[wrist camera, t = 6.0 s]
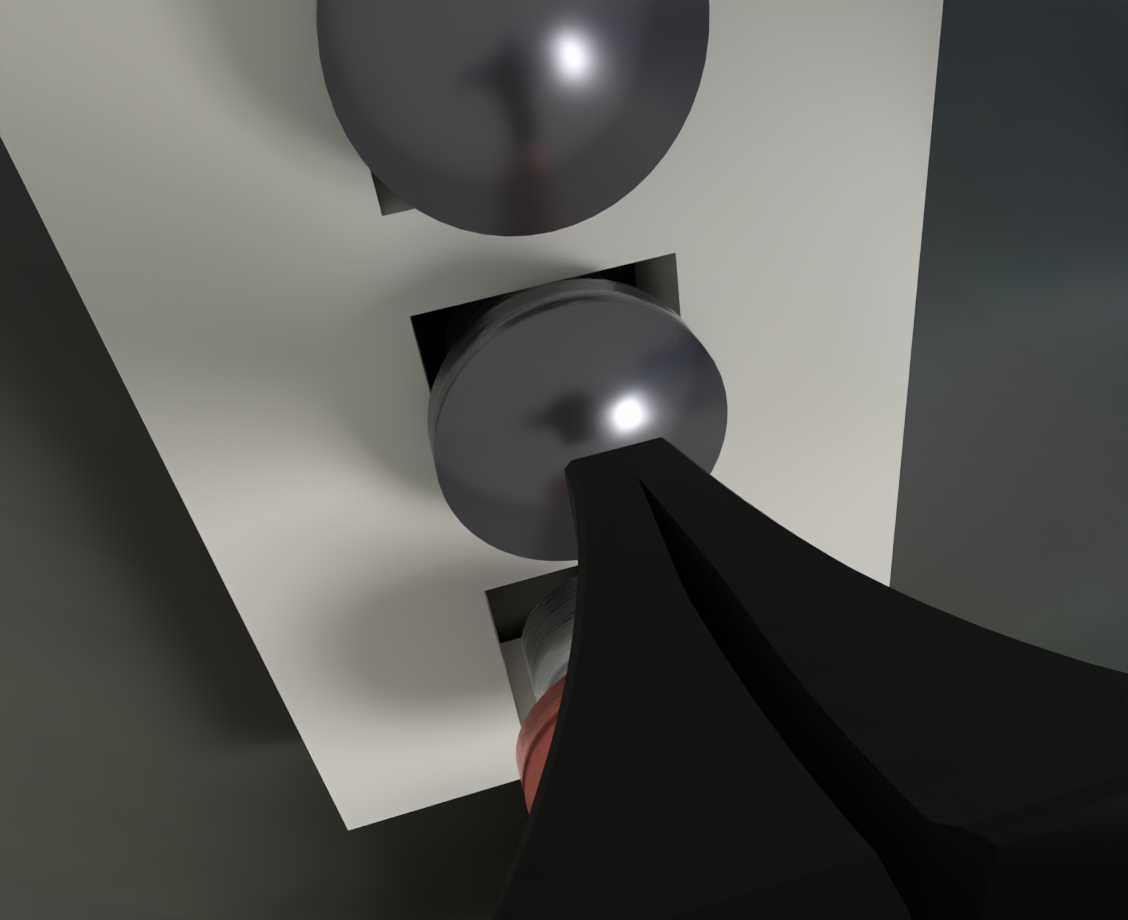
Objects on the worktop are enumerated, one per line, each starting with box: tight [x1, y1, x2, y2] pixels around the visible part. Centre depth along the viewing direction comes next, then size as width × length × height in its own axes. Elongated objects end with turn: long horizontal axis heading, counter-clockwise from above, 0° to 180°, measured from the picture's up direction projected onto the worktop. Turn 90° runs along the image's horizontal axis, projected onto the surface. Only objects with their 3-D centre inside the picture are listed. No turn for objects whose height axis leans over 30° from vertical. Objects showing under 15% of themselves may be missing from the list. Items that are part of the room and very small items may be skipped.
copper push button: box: [516, 575, 578, 813], centre depth 17 cm, size 4×4×3 cm
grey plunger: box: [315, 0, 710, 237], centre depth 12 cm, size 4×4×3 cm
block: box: [0, 0, 943, 830], centre depth 16 cm, size 12×18×2 cm, turn 8°
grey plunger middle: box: [427, 272, 728, 561], centre depth 15 cm, size 4×4×3 cm
